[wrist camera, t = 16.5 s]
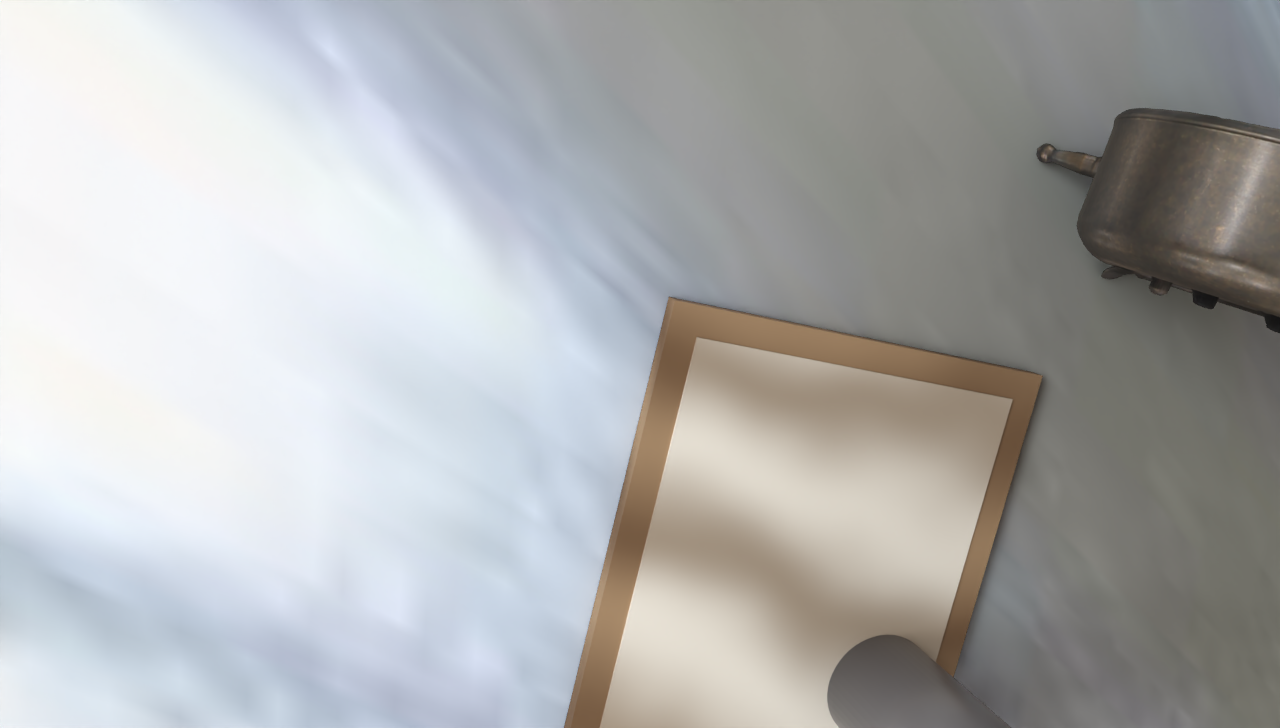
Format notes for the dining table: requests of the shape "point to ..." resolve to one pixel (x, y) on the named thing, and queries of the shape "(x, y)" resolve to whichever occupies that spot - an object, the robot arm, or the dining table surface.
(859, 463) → the wooden picture frame
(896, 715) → the marker
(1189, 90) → the dining table surface
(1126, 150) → the alarm clock
